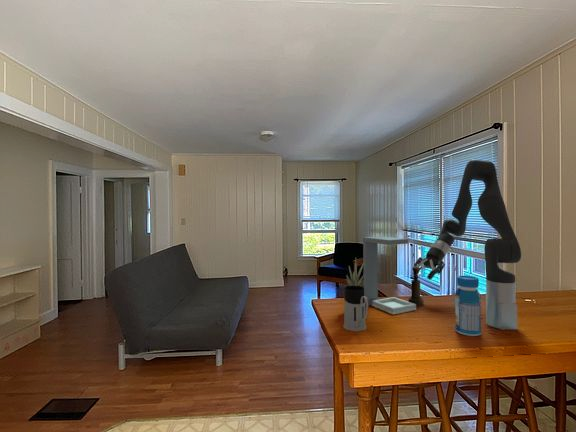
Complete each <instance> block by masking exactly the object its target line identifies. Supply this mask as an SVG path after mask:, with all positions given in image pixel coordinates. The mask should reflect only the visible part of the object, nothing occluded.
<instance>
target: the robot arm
mask: <svg viewBox="0 0 576 432" xmlns="http://www.w3.org/2000/svg"><path fill="white" fill-rule="evenodd" d="M464 168H465V169H463V175H462V179H461V182H460V186H459V191H458V196H457V198H456V202H455V204H454V206H453V208H452V211H451V216H452V217H453V218H454V219H453V218H446V219H445V220H444V221H443V223H442V227H441V231H440V233H439V235H438V237H437V238H436V240H435V241H434V243H432V245H431V247H430V248H429V249H428V251H427V252H426V253H425V254H426V255H425V257H424V258H422V257H421V256H420V257H418V259H417V260H416V261H415V263H414V264H413V266H418V267H419V271H418V273H417V274H418V275H419V273H420V272H421V270H425V269H430V271H429V273H428V275H427V276H426V278H427V279H428V280H429V281H431V280H432V279H433V278H434V276H435V275H437V274H438V275H440V274H441V273H442V271H443V270H444V268H445V265H446V263H445V262H444V261H443V260H444V258H445V257H446V255H447V254H448V253H449V251H450V248H452V245H453V244H454V241H455V238H454V236H456V237H461V236H463V235H464V234H465V233H466V228H467V219H468V216H469V213H470V211H471V209H472V206H473V198H472V194H471V189H470V188H471V183H472V181H480V182H483V184H484V190H483V191H482V193H481V194H480V195H479V197H478V200H477V209H478V210H479V215H480V218H482V220H483V221H484V222H485V223H487V224H488V225H489V226H490V227H492V228H493V229H494V230H495V231H496V232H497V233H498V234H499V236H500V238H488V239H486V240H485V243H484V263H485V265H484V267H485V268H484V269H485V320H486V321H485V322H486V323H485V324H486V325H487V326H489V327H492V328H495V329H499V330H503V331H505V330H508V331H511V330H512V331H513V330H514V331H515V330H518V304H517V303H516V275H515V274H514V273H512V272H509V271H506V270H504V269H501V268H500V267H499V264H517V263H519V262H520V261H521V258H522V248H521V246H520V243H519V241H518V238H517V236H516V234H515V232H514V229H513V227H512V225H511V222H510V219H509V215H508V212H507V208H506V204H505V202H504V198H503V195H502V192H501V189H500V185H499V182H498V175H497V174H498V173H497V169H496V165H495V163H493V162H492V161H491V160H490V161H489V160H481V159H476V158H475V159H473V158H472V159H470V160H469V161H468V162H467V163H466V165H465V167H464ZM452 235H453V236H452ZM412 275H414V272H412Z"/></svg>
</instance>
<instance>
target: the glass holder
mask: <svg viewBox="0 0 576 432" xmlns="http://www.w3.org/2000/svg"><path fill="white" fill-rule="evenodd" d="M344 287H345V288H344V296H343V297H344V299H343V301H344V302H343V305H344V306H343V307H344V308H343V309H344V311H343V314H344V315H343V318H344V319H343V320H344V322H343V326H342V327H343V328H344V329H345V330H347V331H350V330H351V331H350V332H361V331H362V330H363V331H365V330H367V325H366V318H367V316H368V311H369V305H368V300H367V298H366V297H365V296H364V288H363V287H364V286H348V285H347V286H346V285H345V286H344ZM365 300H366V305H365ZM363 331H362V332H363Z"/></svg>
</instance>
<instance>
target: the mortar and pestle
mask: <svg viewBox="0 0 576 432" xmlns="http://www.w3.org/2000/svg"><path fill="white" fill-rule="evenodd" d="M419 268H420V267H418V266H414V265H413V266H412V271H413V272H414V275H413V274H412V275H413V279H411V296H410V297H409V298H408V302H411V303H414V304H416V307H417V306H423V305H425V304H424V298H423V297H421V280H420V279H419V273H418V271H419ZM413 272H412V273H413ZM419 272H420V271H419ZM417 273H418V274H417Z"/></svg>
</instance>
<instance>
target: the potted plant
mask: <svg viewBox="0 0 576 432" xmlns="http://www.w3.org/2000/svg"><path fill="white" fill-rule="evenodd" d="M354 262H355V263H354V271H352V270H351V266H348V271H349V274H350V275H349V276H350V277H349V276H348V275H346V278H345V280H346V282H347V283H345V284H344V286H343V288H344V289H345V287H346V286H361V287H363V288H364V274H363V275H362V276H361V273H362V270H363V265H364V262H362V264H361V265H360V266H361V267H360V268H359V271H358V273H357V258H355V261H354ZM360 276H361V277H360ZM359 278H360V279H359ZM347 284H348V285H347ZM365 297H366V296H365ZM366 298H367V297H366ZM365 303H366V300H365Z"/></svg>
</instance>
